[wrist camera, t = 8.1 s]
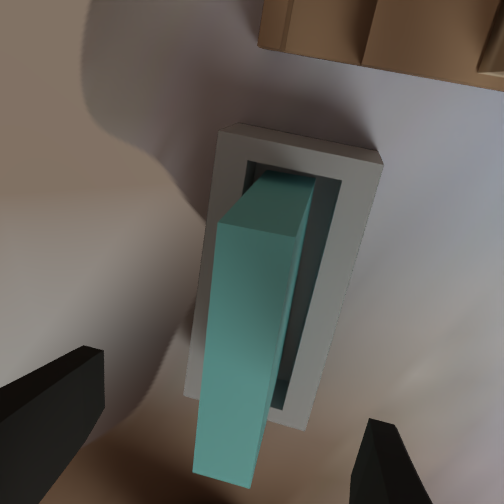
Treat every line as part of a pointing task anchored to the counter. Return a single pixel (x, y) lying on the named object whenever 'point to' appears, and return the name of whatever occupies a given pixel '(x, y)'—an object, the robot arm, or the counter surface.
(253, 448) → the board
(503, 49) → the offcut
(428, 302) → the counter surface
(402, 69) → the rack
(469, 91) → the counter surface
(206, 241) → the stand
